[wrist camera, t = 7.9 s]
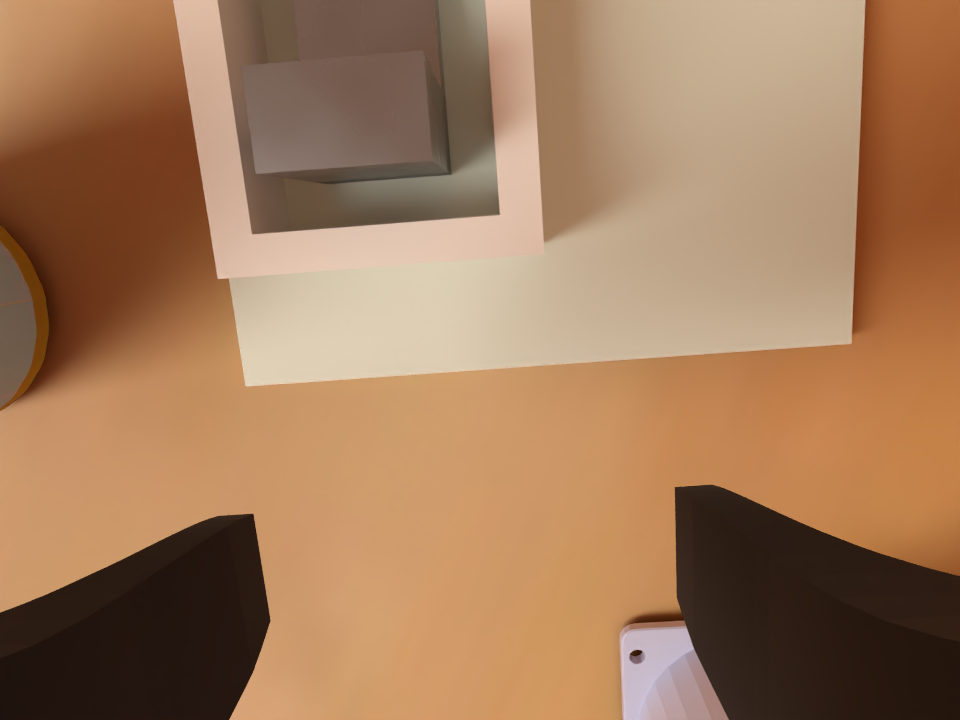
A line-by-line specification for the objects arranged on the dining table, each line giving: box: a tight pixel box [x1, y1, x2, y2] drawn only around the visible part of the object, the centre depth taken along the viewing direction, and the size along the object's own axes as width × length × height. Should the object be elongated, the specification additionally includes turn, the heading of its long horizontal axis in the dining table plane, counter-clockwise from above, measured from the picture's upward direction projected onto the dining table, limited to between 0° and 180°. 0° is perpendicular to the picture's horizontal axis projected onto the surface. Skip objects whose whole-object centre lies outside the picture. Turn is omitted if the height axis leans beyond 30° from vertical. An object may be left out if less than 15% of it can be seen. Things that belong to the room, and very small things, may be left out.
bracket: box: [241, 0, 452, 184], centre depth 16 cm, size 5×4×6 cm
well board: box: [173, 0, 865, 386], centre depth 18 cm, size 14×18×4 cm
